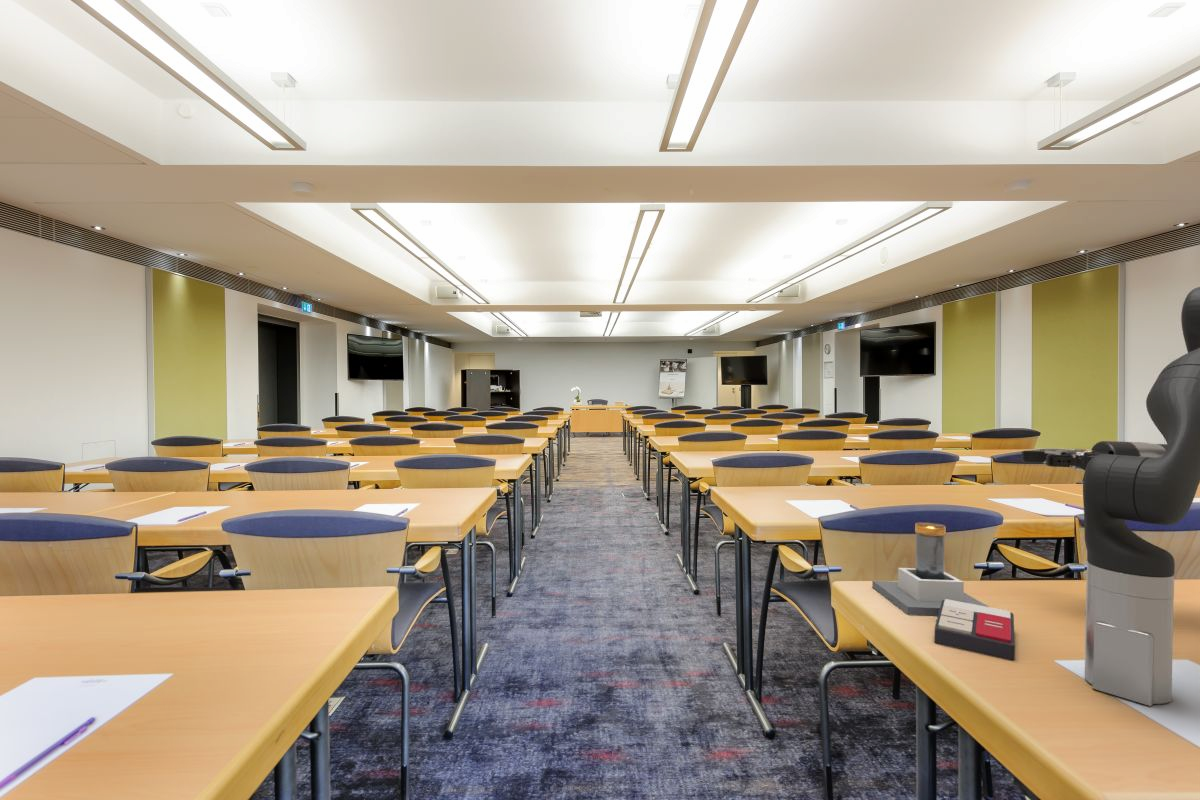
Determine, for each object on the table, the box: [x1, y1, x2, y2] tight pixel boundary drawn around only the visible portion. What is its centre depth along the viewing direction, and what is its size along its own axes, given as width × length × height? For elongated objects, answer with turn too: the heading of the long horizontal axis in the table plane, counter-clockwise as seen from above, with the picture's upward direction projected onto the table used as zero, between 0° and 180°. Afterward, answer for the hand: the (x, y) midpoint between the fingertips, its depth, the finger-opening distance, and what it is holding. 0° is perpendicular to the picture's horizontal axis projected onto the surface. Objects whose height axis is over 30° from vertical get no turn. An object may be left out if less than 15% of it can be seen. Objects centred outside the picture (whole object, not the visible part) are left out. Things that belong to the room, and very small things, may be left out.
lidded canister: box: [914, 522, 947, 580], centre depth 118 cm, size 5×5×14 cm
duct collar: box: [871, 567, 989, 617], centre depth 117 cm, size 16×16×6 cm
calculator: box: [934, 599, 1016, 662], centre depth 100 cm, size 11×4×15 cm
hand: (1034, 458), depth 113 cm, fingers open, 8 cm apart
